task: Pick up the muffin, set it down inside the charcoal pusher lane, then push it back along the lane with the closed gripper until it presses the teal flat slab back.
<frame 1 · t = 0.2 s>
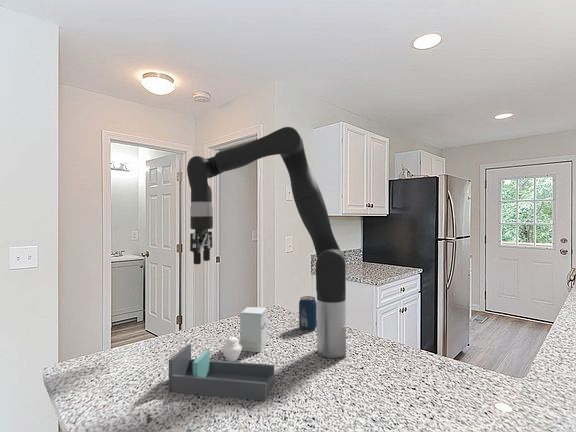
hand: (202, 262, 110), 28 cm above the countertop, tool pointing down, fingers open, 8 cm apart
soda can: (307, 329, 126), on the countertop
pusher lane: (223, 385, 83), on the countertop
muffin: (232, 360, 99), on the countertop
supplement box: (253, 348, 108), on the countertop
teal flat slab: (201, 367, 85), point 4 cm above the countertop, slide at 0.0 cm
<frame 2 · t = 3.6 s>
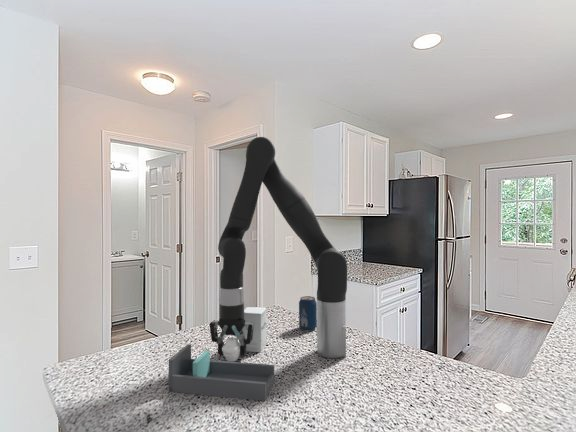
hand: (232, 355, 99), 1 cm above the countertop, tool pointing down, fingers closed on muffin, 6 cm apart
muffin: (232, 360, 99), on the countertop, touching gripper
everything else where it was.
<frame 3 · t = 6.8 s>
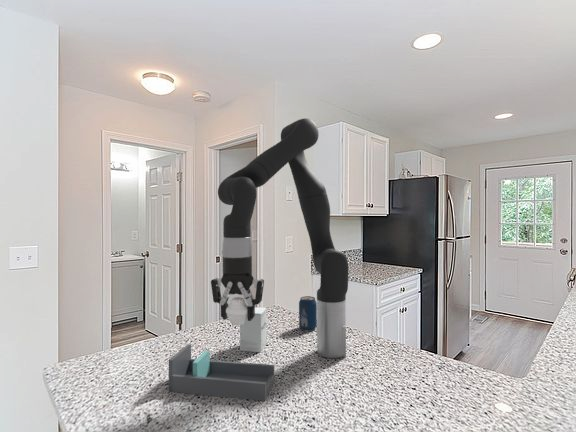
hand: (237, 319, 83), 17 cm above the countertop, tool pointing down, fingers closed on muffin, 6 cm apart
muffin: (237, 324, 83), point 16 cm above the countertop, touching gripper
everything else where it was.
when the fingers open (4 cm above the countertop, at t = 10.2 s): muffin drops 2 cm, resting on pusher lane.
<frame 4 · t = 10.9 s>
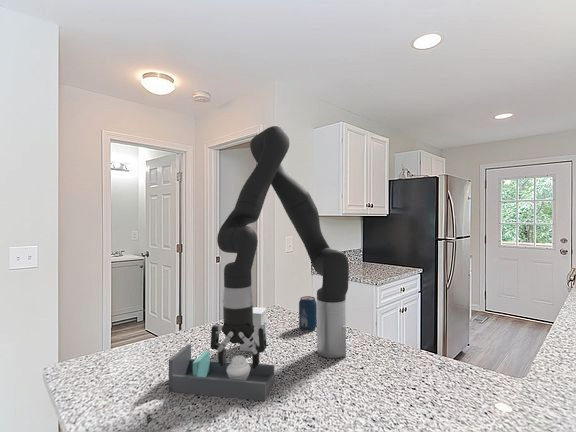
hand: (238, 366, 83), 5 cm above the countertop, tool pointing down, fingers open, 8 cm apart
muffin: (238, 383, 83), point 1 cm above the countertop, touching pusher lane
everything else where it was.
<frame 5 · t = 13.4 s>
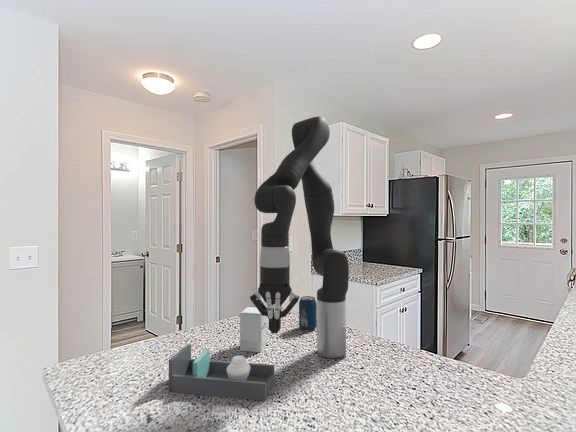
hand: (274, 332, 81), 15 cm above the countertop, tool pointing down, fingers closed
nothing on the countertop moved.
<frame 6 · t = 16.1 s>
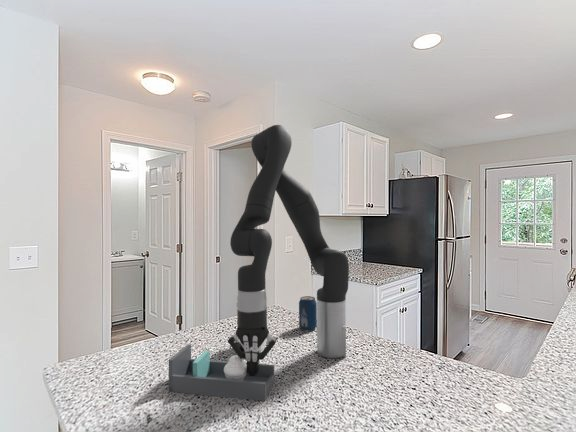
hand: (252, 374, 82), 4 cm above the countertop, tool pointing down, fingers closed
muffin: (235, 383, 83), point 1 cm above the countertop, touching gripper
everything else where it was.
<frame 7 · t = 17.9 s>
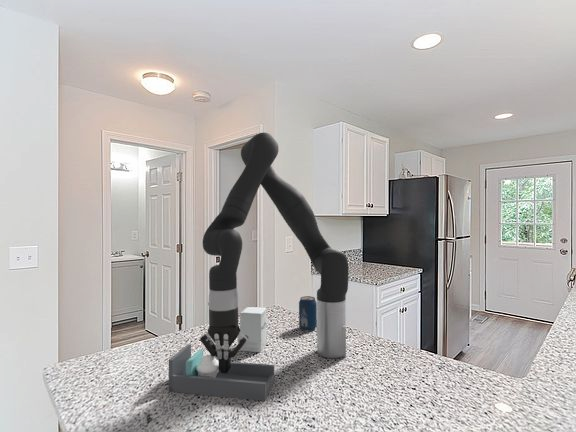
hand: (224, 371, 83), 4 cm above the countertop, tool pointing down, fingers closed
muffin: (208, 380, 84), point 1 cm above the countertop, touching gripper, pusher lane
teal flat slab: (194, 367, 85), point 4 cm above the countertop, slide at 1.9 cm
everything else where it was.
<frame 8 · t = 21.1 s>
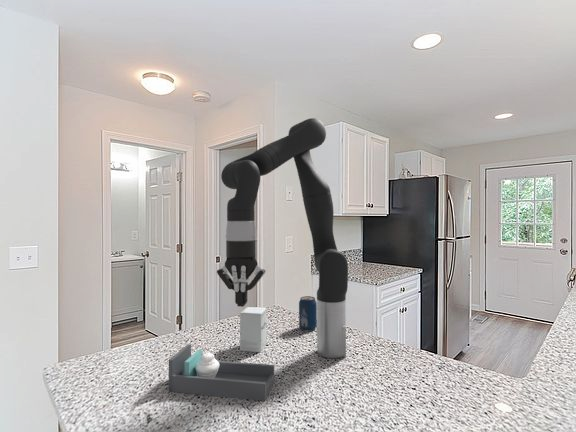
hand: (241, 305, 83), 21 cm above the countertop, tool pointing down, fingers closed
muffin: (207, 380, 85), point 1 cm above the countertop, touching pusher lane
teal flat slab: (193, 367, 85), point 4 cm above the countertop, slide at 2.2 cm
everything else where it was.
at the end: teal flat slab slide at 2.2 cm; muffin inside the target area (0.6 cm from its centre), point 0.8 cm above the countertop; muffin tilted 0° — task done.
